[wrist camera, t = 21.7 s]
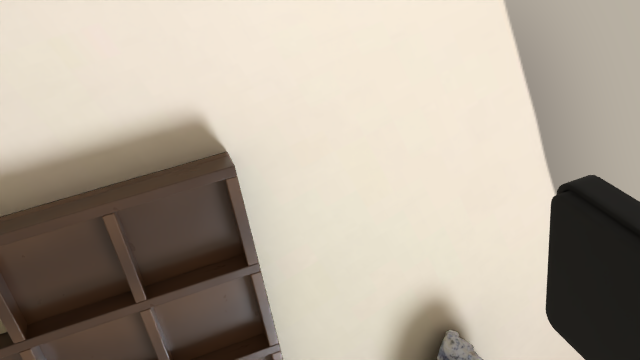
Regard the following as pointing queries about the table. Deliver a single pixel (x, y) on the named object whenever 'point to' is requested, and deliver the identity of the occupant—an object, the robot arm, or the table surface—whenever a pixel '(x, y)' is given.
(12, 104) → the table surface
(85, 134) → the table surface
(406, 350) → the table surface
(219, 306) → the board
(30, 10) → the table surface
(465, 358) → the mineral specimen
